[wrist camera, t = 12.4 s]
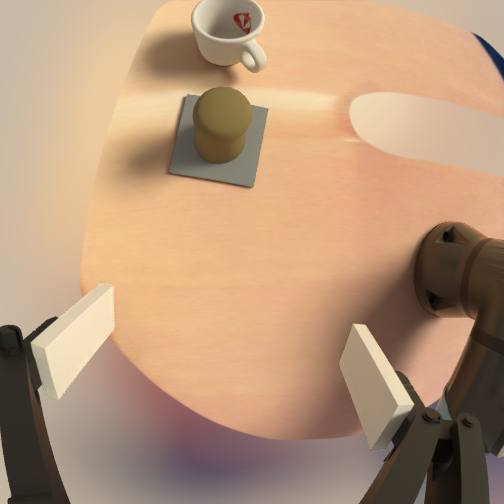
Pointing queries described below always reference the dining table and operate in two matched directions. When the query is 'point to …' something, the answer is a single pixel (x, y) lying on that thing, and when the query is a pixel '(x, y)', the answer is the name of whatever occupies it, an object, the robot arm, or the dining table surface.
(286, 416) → the dining table surface
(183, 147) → the coaster
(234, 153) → the pepper mill
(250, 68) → the cup
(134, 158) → the dining table surface
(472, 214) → the dining table surface
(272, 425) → the dining table surface
